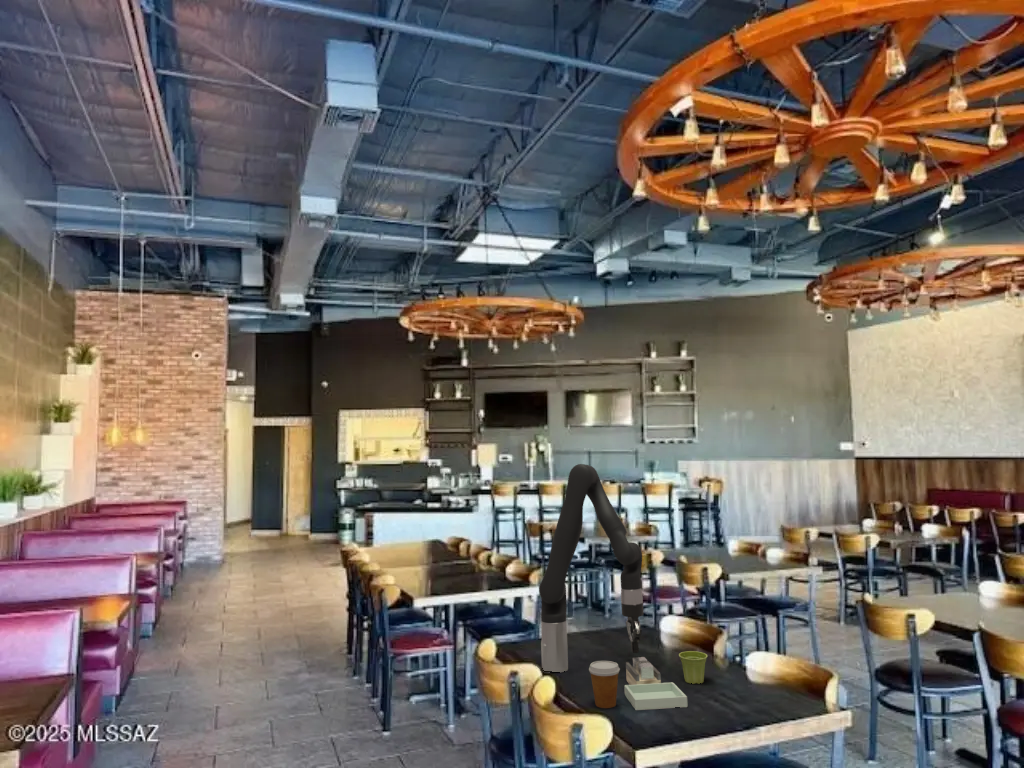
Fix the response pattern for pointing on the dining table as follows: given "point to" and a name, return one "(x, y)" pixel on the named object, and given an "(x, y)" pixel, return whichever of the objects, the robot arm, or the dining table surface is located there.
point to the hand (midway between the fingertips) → (635, 652)
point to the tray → (655, 696)
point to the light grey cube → (638, 662)
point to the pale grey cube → (645, 671)
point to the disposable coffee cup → (604, 683)
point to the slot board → (635, 679)
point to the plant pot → (693, 666)
